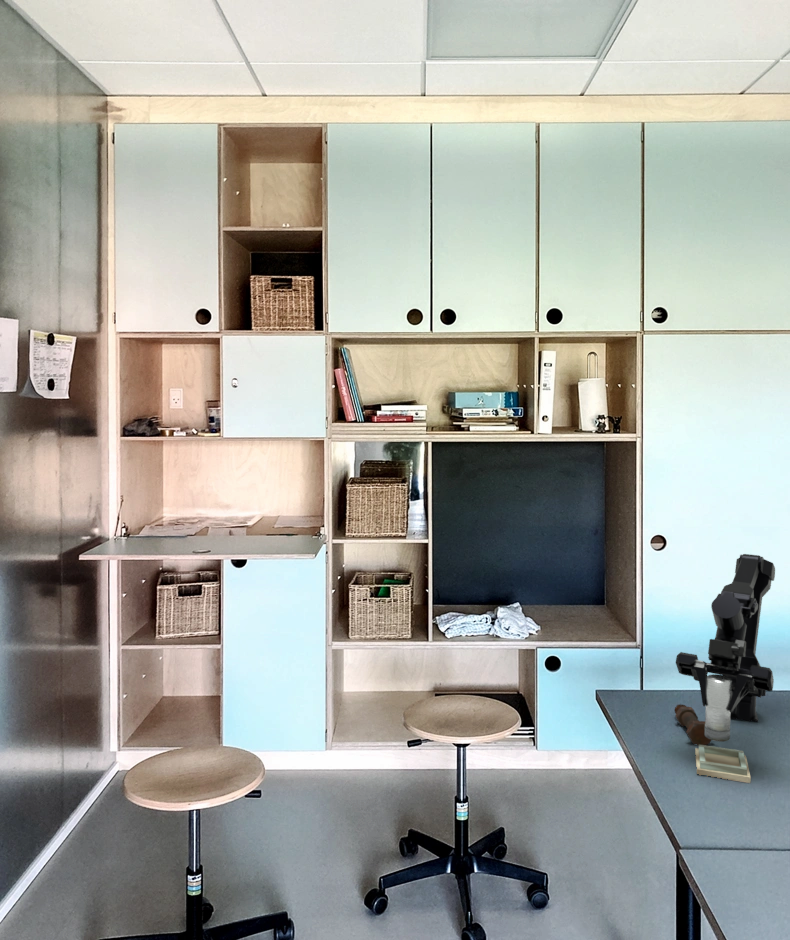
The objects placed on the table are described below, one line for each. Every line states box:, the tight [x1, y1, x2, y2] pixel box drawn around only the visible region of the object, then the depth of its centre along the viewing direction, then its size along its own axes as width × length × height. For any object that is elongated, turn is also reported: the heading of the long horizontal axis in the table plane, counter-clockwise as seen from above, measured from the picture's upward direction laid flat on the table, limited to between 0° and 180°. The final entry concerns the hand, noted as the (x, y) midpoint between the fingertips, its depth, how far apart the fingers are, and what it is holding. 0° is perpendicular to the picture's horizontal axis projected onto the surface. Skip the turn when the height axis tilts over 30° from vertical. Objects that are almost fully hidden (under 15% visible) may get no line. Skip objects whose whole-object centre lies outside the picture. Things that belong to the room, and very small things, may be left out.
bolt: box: [674, 703, 712, 746], centre depth 175 cm, size 6×5×15 cm
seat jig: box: [694, 745, 752, 784], centre depth 157 cm, size 10×10×2 cm
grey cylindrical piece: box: [704, 673, 732, 742], centre depth 157 cm, size 5×5×12 cm
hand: (716, 708), depth 156 cm, fingers closed on grey cylindrical piece, 5 cm apart
